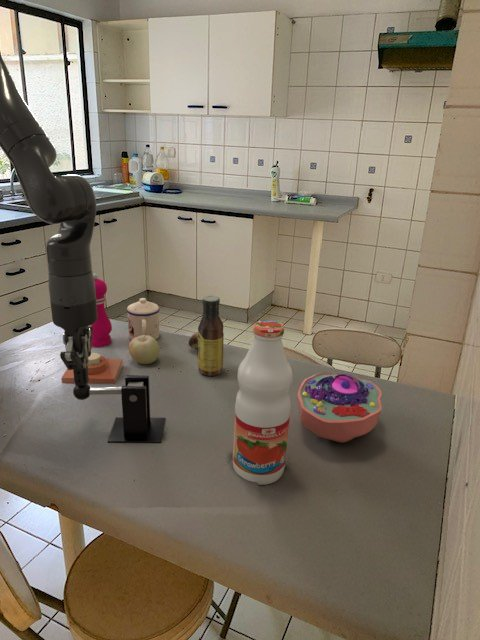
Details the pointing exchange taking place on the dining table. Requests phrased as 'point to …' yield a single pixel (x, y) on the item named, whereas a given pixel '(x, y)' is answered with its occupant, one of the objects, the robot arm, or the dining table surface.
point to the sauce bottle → (210, 338)
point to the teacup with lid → (143, 319)
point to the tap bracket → (136, 415)
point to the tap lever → (99, 390)
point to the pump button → (94, 359)
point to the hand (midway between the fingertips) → (81, 383)
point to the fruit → (144, 349)
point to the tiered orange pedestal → (99, 372)
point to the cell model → (339, 405)
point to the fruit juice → (263, 407)
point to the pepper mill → (101, 316)
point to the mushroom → (194, 341)
